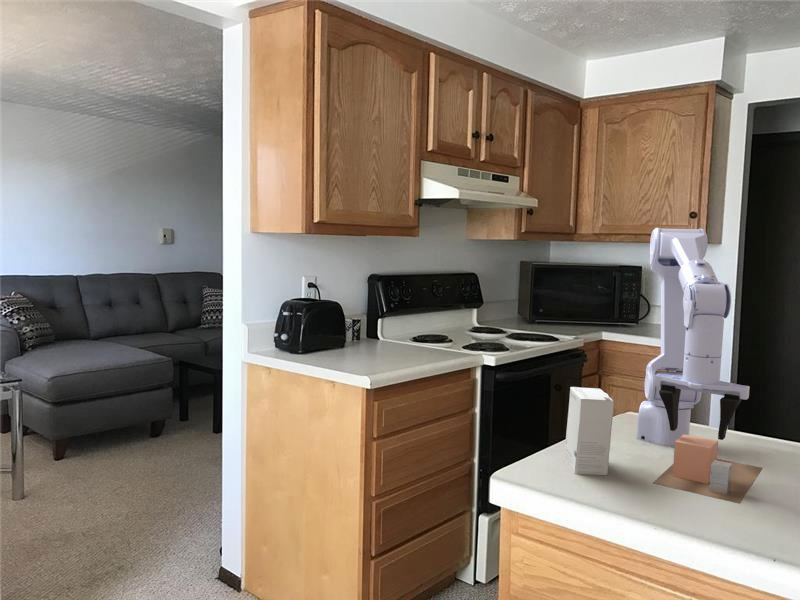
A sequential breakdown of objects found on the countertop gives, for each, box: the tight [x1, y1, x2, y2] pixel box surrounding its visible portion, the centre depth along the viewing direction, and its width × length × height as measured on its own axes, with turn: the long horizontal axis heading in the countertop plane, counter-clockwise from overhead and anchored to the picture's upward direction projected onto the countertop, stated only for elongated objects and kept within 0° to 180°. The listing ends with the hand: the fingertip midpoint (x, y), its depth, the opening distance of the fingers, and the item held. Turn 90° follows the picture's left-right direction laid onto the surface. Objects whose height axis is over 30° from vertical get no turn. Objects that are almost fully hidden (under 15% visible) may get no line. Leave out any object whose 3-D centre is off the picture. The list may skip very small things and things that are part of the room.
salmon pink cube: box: [672, 434, 719, 484], centre depth 114 cm, size 6×6×6 cm
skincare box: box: [563, 386, 615, 476], centre depth 117 cm, size 8×6×15 cm
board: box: [652, 458, 763, 504], centre depth 115 cm, size 13×21×2 cm, turn 143°
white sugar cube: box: [709, 460, 732, 495], centre depth 107 cm, size 3×3×4 cm
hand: (697, 433), depth 113 cm, fingers open, 7 cm apart
